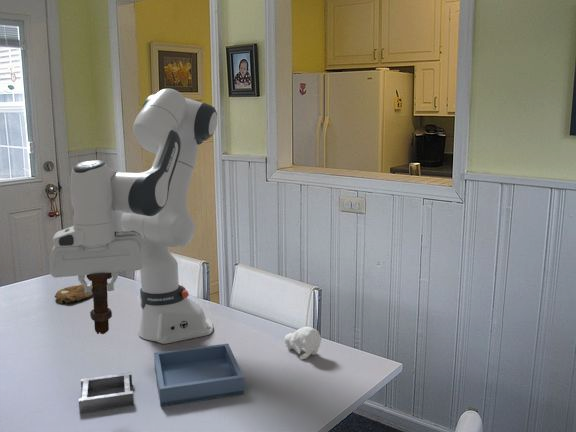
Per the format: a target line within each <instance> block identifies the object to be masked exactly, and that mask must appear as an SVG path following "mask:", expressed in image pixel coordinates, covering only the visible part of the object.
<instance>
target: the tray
mask: <svg viewBox="0 0 576 432" xmlns="http://www.w3.org/2000/svg"><path fill="white" fill-rule="evenodd" d="M229 344H230V343H222V344H221V343H220V344H214V345H212V344H211V345H206V346H205V345H204V346H198V347H197V346H196V347H190V348H181V349H173V350H165V351H164V350H163V351H158V352H153V362H154V363H153V366H154V373H155V379H156V380H155V381H156V386H157V387H156V388H157V392H158V399H159V405H160V408H161V407H167V406H173V405H174V406H175V405H181V404H187V403H194V402H200V401H201V402H202V401H206V400H207V401H208V400H213V399H221V398H227V397H228V398H229V397H233V396H240V395H244V394H245V377H244V374H243V372H242V370H241V367H240V366H239V363H238V361H237V360H236V357H235V355H234V353H233V351H232V348H231V347H230V345H229Z"/></svg>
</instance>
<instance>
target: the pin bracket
mask: <svg viewBox="0 0 576 432" xmlns="http://www.w3.org/2000/svg"><path fill="white" fill-rule="evenodd" d="M131 386H133V375H132V372H127V373H119V374H118V373H116V374H109V375H102V376H101V375H100V376H94V377H89V378H88V377H87V378H82V379H80V388H81V389H80V390H81V391H80V392H81V398H78V410H79V414H82V413H90V412H95V411H101V410H102V411H103V410H111V409H117V408H124V407H130V406H134V404H135V403H134V391H133V390H131ZM118 388H124V391H123V392H117V393H109V394H108V393H107V394H102V395H95V396H90V392H96V391H103V390H111V389H118Z"/></svg>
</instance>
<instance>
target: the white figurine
mask: <svg viewBox="0 0 576 432" xmlns="http://www.w3.org/2000/svg"><path fill="white" fill-rule="evenodd" d="M321 341H322V336H321V334H320V332H319V331H318V330H317V329H315V328H314V327H311V326H303V327H301V328H298V329H297V330H296V331H294V332H289V333H287V334H286V335H285V337H284V343H285V347H286V349H287V350H289V349H292V350H294V351H296V352H297V354H301V350H302V349H304V351H305V352H304V353H302V354H301V355H300V356H299V359H300V360H306V359H308V358H309V357H310V356H311V355H312V356H316V354H317V353H318V352H319V348H320V347H321Z"/></svg>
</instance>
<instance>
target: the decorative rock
mask: <svg viewBox="0 0 576 432" xmlns="http://www.w3.org/2000/svg"><path fill="white" fill-rule="evenodd" d="M91 290H92V292H91V293H85V292H84V287H83V285H82V284H79V285H72V286H67V287H63V288H62V289H60V290H59V289H58V291H57V292H56V293H55V294H54V298H55V301H56V304H59V303H60V304H64V303H65V304H67V303H71V304H72V303H73V302H75V301H76V302H79V301H81V300H83V299H88V297H89V298H90V297H91V296H93V286H92V284H91Z"/></svg>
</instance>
